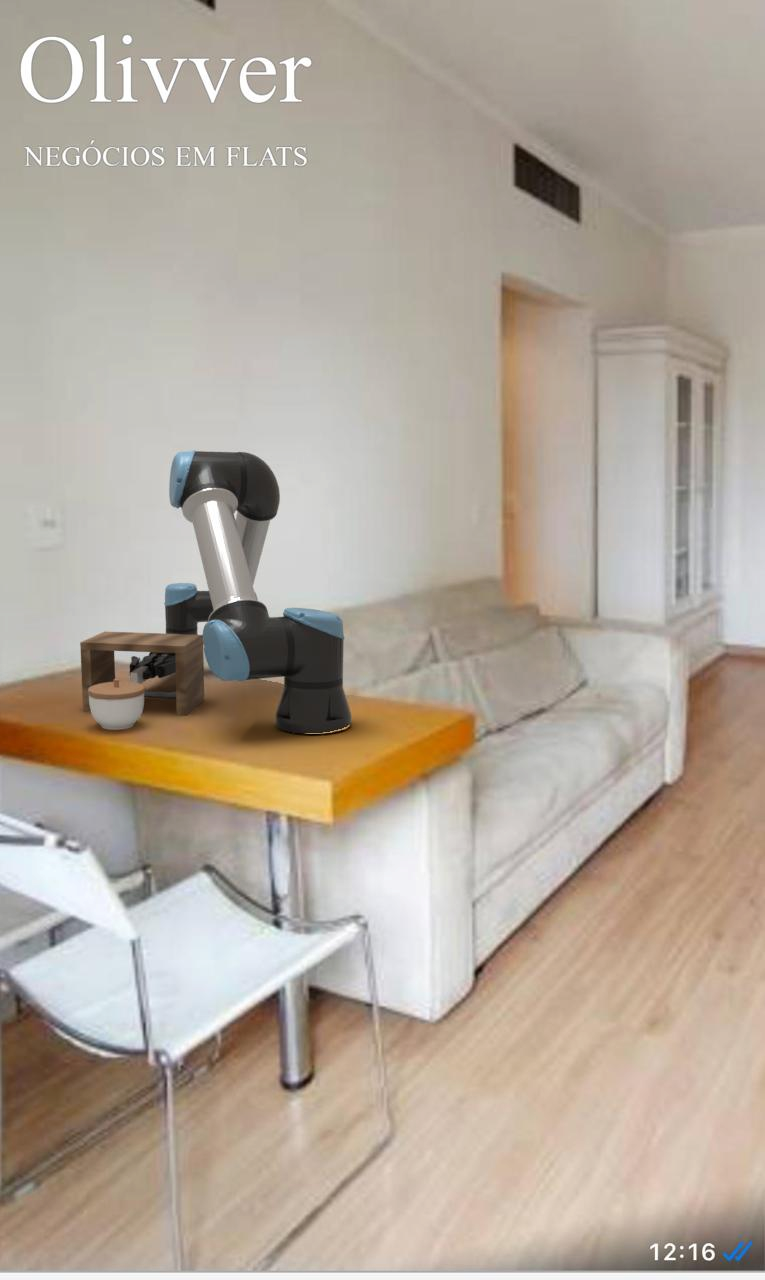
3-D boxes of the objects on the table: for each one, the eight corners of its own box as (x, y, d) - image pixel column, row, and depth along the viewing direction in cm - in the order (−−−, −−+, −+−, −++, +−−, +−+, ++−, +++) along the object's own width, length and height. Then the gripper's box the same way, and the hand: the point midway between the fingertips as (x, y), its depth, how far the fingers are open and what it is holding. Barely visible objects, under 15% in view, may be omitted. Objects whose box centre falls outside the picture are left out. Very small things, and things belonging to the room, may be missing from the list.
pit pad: (200, 695, 214) (200, 693, 214) (195, 699, 211) (195, 698, 210) (122, 692, 216) (122, 690, 216) (115, 696, 212) (115, 694, 212)
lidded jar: (129, 735, 183) (128, 687, 181) (78, 731, 185) (76, 683, 184) (155, 721, 193) (154, 675, 192) (106, 717, 196) (104, 671, 194)
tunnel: (204, 700, 210) (203, 635, 208) (186, 715, 198) (184, 646, 195) (107, 696, 212) (104, 631, 210) (83, 710, 200) (80, 642, 197)
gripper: (197, 673, 223) (164, 698, 200) (142, 671, 224) (104, 695, 201) (196, 641, 221) (164, 662, 198) (141, 639, 223) (102, 660, 199)
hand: (133, 679), depth 200 cm, fingers closed
